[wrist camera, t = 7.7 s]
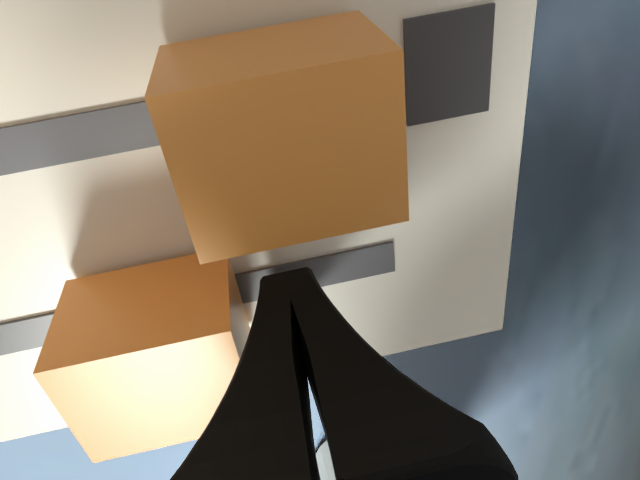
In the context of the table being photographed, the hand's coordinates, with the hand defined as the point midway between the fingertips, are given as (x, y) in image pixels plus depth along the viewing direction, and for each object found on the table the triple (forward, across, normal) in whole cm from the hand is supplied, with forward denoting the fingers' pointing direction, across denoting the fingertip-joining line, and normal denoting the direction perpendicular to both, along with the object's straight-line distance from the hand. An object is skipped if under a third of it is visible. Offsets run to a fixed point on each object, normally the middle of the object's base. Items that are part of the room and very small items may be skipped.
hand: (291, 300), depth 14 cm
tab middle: (+1, 0, -5) cm, 5 cm away
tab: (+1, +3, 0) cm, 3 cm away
